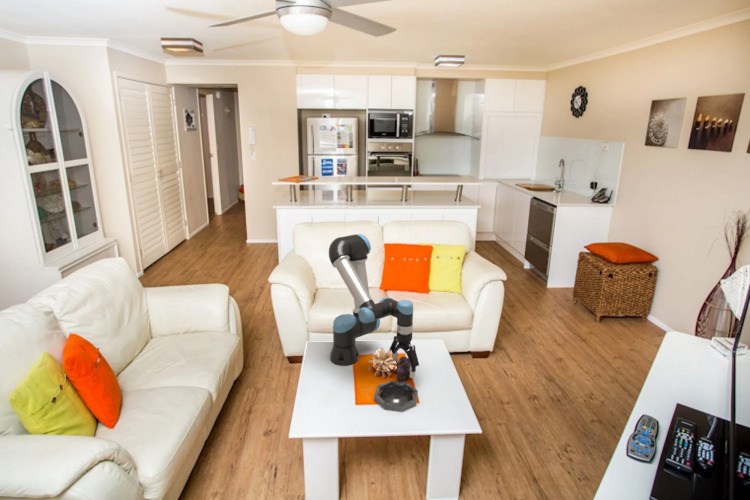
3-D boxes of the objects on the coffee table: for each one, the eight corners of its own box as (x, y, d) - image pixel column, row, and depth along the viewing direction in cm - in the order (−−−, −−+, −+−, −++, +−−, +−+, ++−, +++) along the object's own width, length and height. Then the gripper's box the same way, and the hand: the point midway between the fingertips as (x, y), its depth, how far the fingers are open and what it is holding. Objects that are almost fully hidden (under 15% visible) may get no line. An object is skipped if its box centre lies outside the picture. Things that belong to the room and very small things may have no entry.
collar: (367, 394, 205) (367, 389, 204) (399, 381, 216) (400, 376, 215) (391, 416, 190) (391, 411, 189) (425, 401, 201) (425, 396, 200)
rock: (393, 383, 216) (414, 383, 216) (394, 369, 212) (415, 369, 212) (393, 367, 226) (412, 367, 226) (393, 354, 223) (413, 354, 223)
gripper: (383, 324, 222) (382, 362, 228) (415, 344, 202) (413, 384, 208) (395, 320, 226) (394, 358, 232) (427, 339, 206) (425, 380, 212)
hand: (403, 370), depth 220 cm, fingers open, 13 cm apart
